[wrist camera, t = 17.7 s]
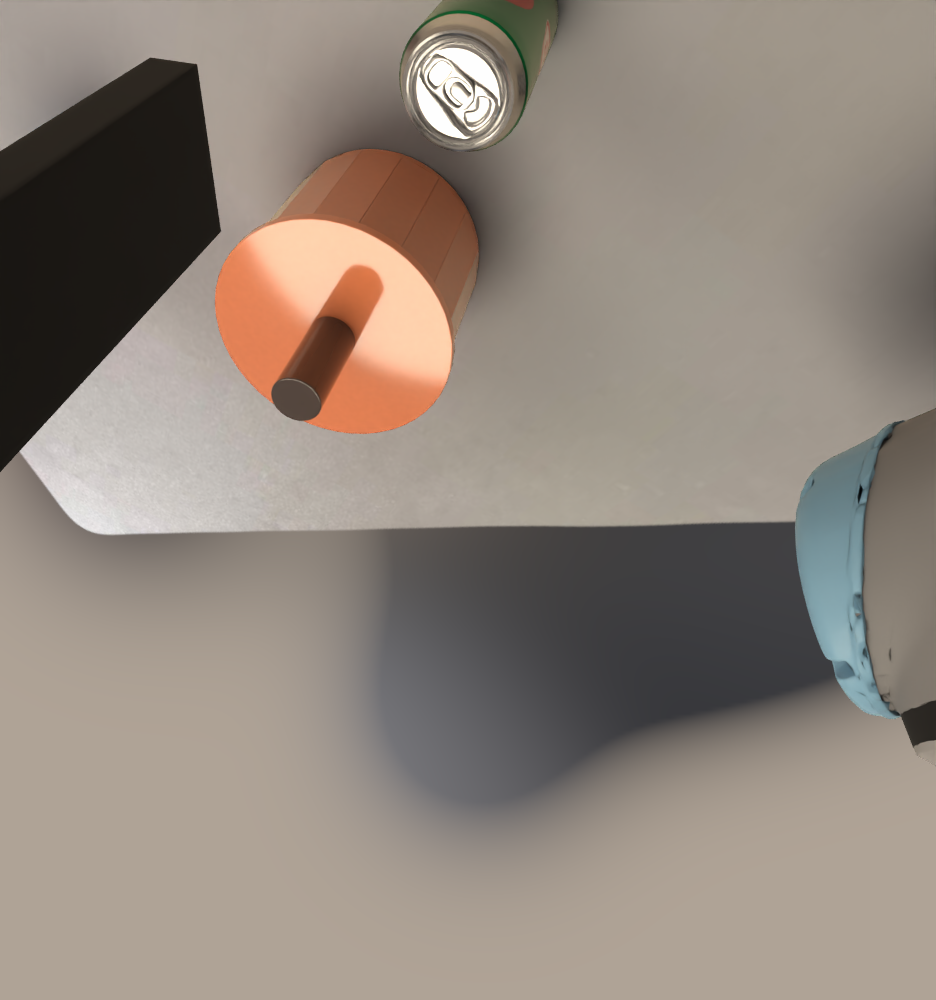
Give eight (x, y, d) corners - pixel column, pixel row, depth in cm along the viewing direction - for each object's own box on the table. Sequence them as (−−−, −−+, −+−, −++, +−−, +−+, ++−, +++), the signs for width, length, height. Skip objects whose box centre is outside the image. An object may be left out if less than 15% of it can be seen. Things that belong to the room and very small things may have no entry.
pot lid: (465, 229, 38) (433, 302, 33) (450, 437, 47) (423, 520, 42) (208, 189, 39) (141, 254, 34) (239, 400, 48) (189, 475, 43)
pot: (487, 164, 45) (451, 243, 38) (471, 344, 53) (439, 436, 46) (284, 134, 46) (214, 206, 39) (298, 314, 54) (242, 400, 47)
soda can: (509, 93, 42) (464, 188, 34) (434, 15, 40) (366, 95, 32) (582, 11, 39) (552, 92, 30) (504, -77, 37) (449, -16, 29)
